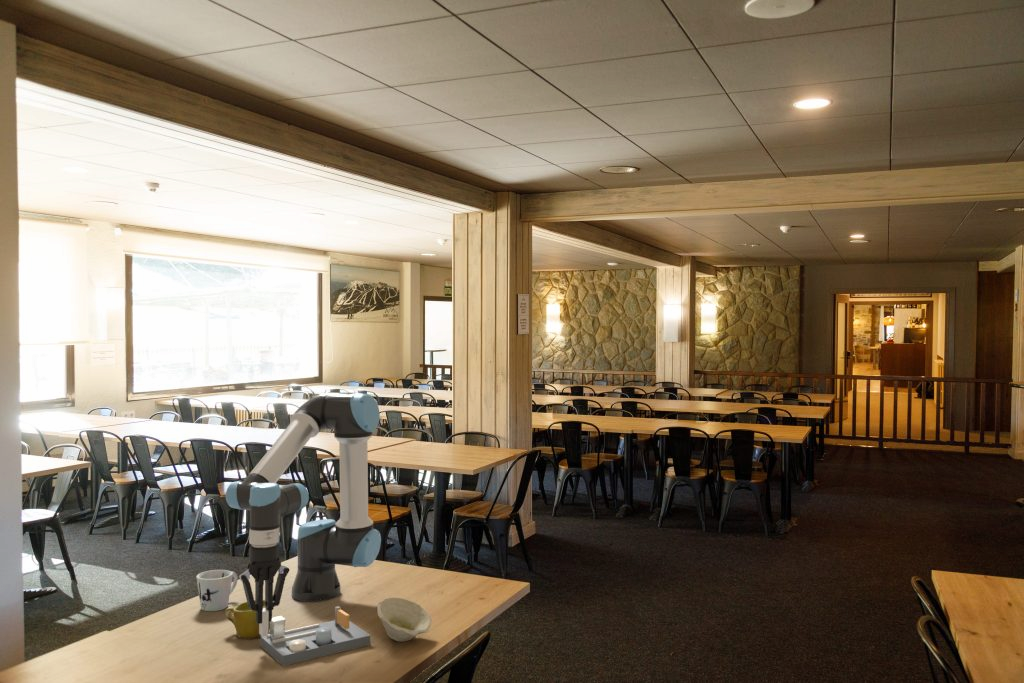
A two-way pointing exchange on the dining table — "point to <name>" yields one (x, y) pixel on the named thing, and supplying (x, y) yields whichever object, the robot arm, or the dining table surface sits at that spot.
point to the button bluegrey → (323, 636)
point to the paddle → (341, 618)
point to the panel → (340, 642)
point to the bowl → (403, 618)
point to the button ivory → (297, 645)
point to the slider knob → (277, 627)
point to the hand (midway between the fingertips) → (263, 634)
